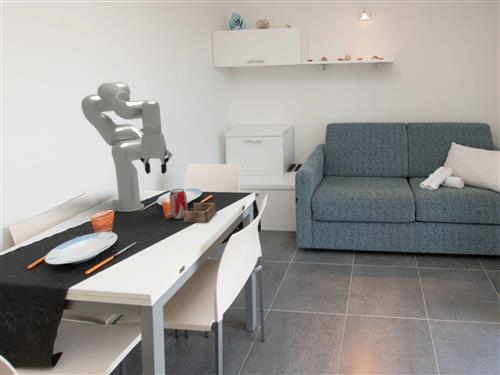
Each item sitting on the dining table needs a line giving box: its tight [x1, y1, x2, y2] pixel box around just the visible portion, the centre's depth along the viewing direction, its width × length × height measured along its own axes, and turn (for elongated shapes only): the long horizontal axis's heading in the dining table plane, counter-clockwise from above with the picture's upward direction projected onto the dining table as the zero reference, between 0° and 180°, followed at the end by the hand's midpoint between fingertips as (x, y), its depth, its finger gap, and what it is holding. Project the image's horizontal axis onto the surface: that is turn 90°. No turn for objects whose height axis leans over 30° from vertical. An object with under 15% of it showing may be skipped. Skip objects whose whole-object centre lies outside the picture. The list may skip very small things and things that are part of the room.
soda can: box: [169, 188, 188, 220], centre depth 217 cm, size 7×7×12 cm
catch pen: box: [183, 202, 217, 224], centre depth 216 cm, size 10×14×4 cm
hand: (156, 172), depth 215 cm, fingers open, 6 cm apart
